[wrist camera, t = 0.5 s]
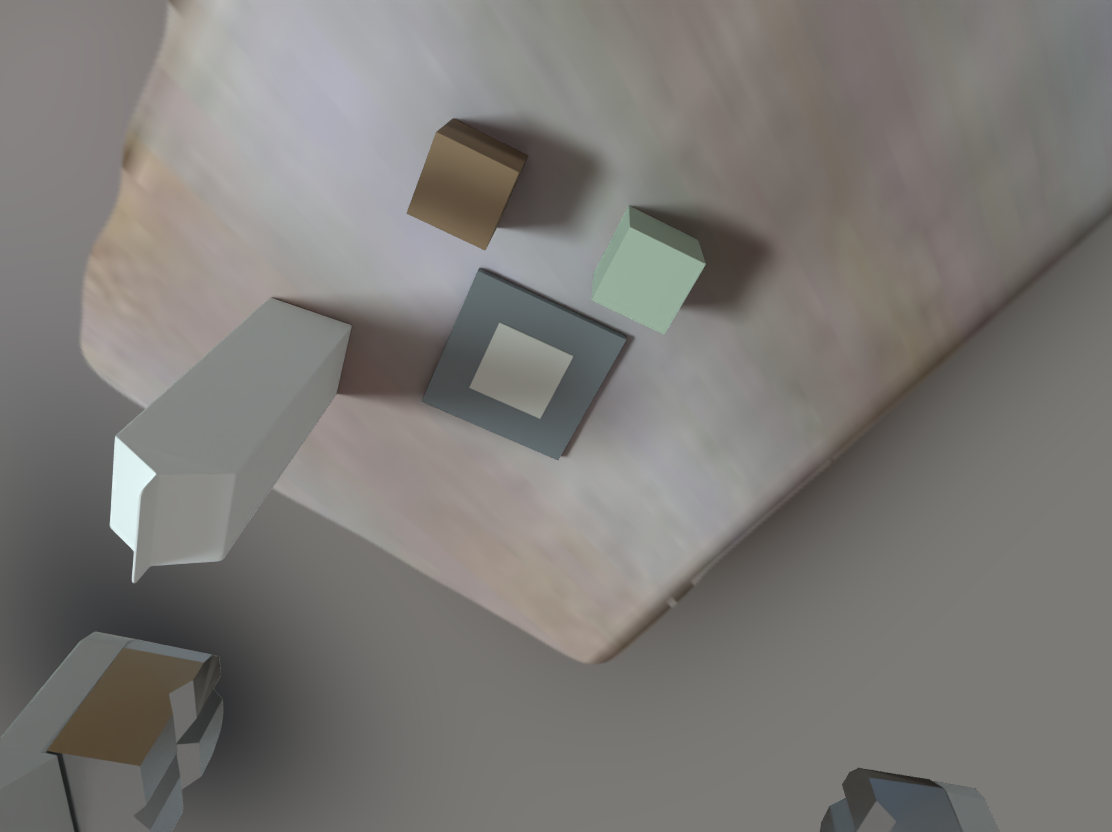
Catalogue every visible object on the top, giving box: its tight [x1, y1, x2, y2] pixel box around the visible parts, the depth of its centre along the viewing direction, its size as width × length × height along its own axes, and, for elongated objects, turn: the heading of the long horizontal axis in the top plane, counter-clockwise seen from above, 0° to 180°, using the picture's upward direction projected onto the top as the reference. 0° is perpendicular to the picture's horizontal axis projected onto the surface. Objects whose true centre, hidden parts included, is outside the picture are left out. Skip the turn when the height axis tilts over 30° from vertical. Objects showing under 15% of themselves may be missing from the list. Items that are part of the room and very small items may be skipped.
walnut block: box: [407, 119, 528, 250], centre depth 46 cm, size 5×5×5 cm
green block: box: [592, 206, 706, 334], centre depth 48 cm, size 5×5×5 cm
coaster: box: [422, 268, 626, 460], centre depth 54 cm, size 11×11×1 cm
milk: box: [110, 298, 352, 583], centre depth 45 cm, size 6×6×22 cm
